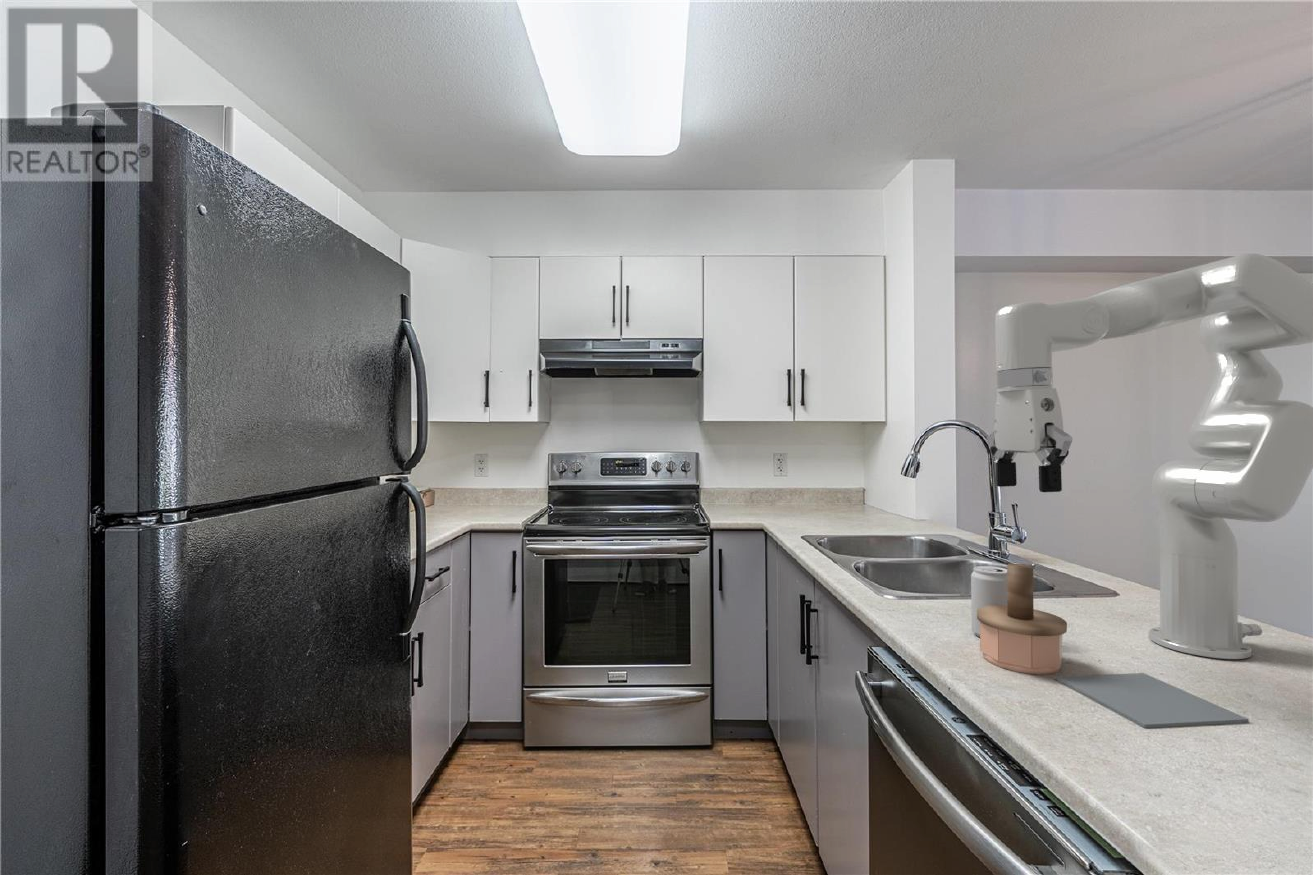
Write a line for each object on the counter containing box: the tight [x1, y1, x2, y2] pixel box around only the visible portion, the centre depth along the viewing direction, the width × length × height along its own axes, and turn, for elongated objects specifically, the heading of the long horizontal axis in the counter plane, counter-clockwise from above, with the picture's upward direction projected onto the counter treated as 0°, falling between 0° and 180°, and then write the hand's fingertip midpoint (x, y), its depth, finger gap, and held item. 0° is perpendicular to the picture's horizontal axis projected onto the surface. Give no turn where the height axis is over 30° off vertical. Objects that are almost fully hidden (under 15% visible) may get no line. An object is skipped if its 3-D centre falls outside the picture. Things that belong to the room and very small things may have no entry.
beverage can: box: [970, 565, 1007, 638], centre depth 102 cm, size 6×6×12 cm
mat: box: [1054, 672, 1250, 729], centre depth 77 cm, size 14×14×1 cm
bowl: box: [979, 622, 1063, 676], centre depth 91 cm, size 10×10×6 cm
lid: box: [977, 563, 1068, 636], centre depth 91 cm, size 12×12×9 cm
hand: (1027, 488), depth 92 cm, fingers open, 9 cm apart
